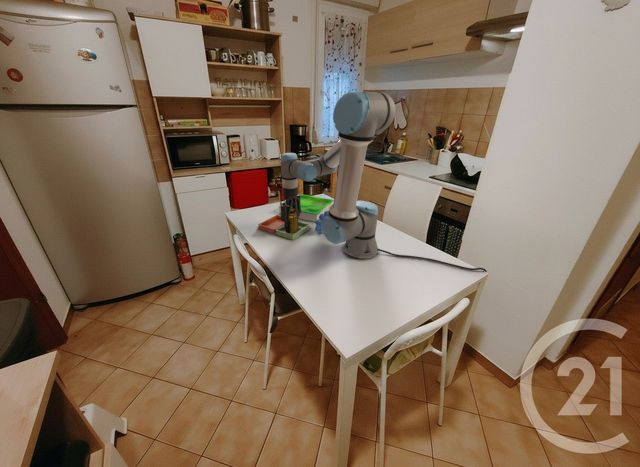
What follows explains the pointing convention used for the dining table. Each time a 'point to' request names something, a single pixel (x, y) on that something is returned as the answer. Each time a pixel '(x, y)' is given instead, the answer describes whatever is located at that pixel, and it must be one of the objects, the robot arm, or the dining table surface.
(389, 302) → the dining table surface
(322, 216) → the grapes
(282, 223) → the terracotta tray
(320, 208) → the tray
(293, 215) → the condiment
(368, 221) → the robot arm
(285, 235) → the green tray
